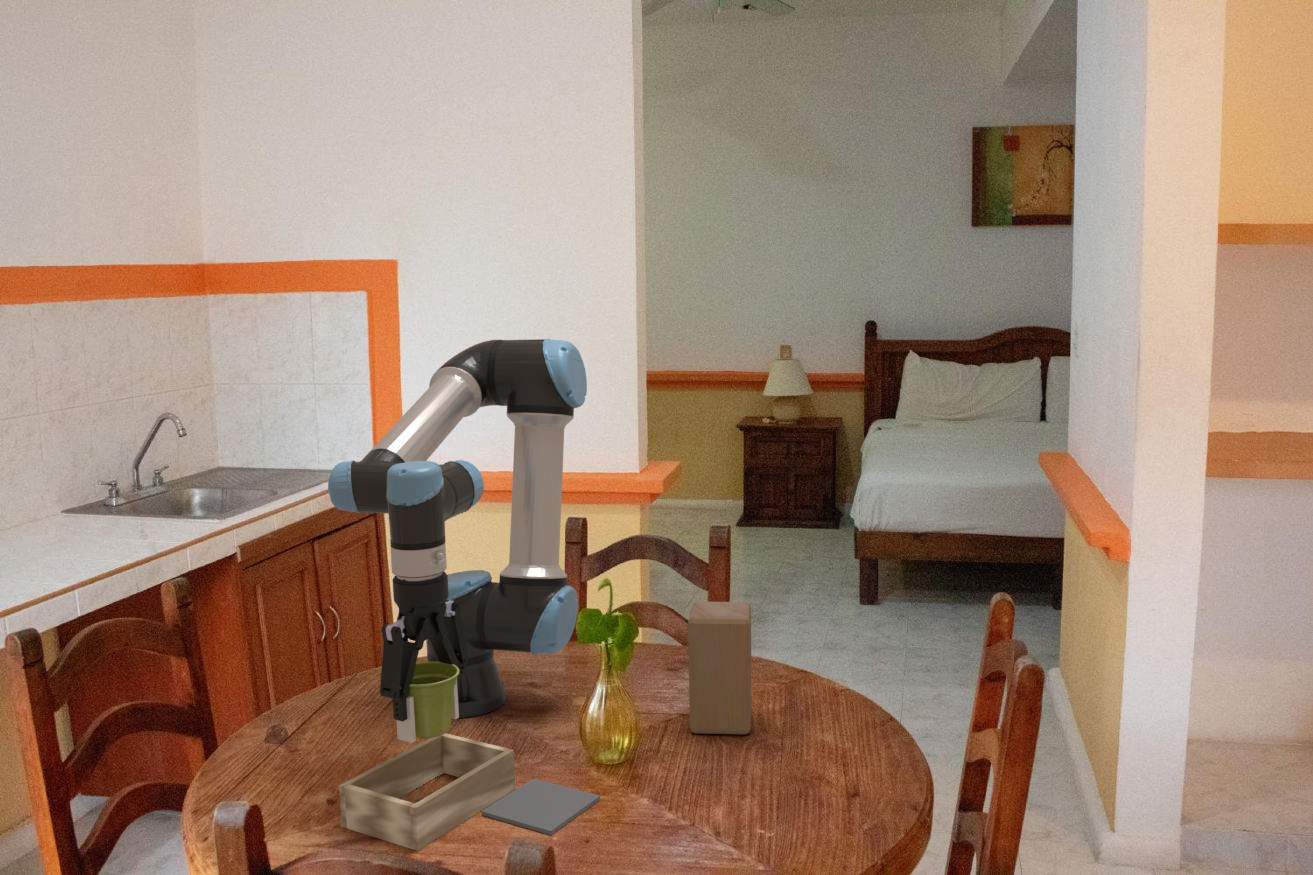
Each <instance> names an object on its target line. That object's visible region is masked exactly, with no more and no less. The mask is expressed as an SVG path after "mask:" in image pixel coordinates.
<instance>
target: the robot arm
mask: <svg viewBox="0 0 1313 875" xmlns="http://www.w3.org/2000/svg"><path fill="white" fill-rule="evenodd" d="M428 386H429V387H428V389H427V390H426V391H425V392H423V394H422V395H421V396H420V397H419V398H418V399H417V400H416V401H415V402H414V403H413V404H412V406H411V407H410V408H409V409H408V410H407V411H406V412H405V413H404V414H403V415H402V416H401V418H400V419H399V420H397V421H396V423H395V424H394V425H393V426H391V428H390V429H389V431H387V432H386V433H385V435H384V436H382V438H381V439H380V440H379V441H378V442H377V443H376V444H375V446H373V447H372V449H371V450H370V451H368V453H367V454H366V455H365V456H364V457H363V458H362V460H360V461H355V460H350V461H341V462H339V463H337V464H336V465H334V467H333V468H332V470H331V472H330V475H329V477H328V482H327V484H328V485H327V489H328V490H327V491H328V495H329V499H330V502H331V503H332V505H333V506H334V507H335V508H336V509H338V510H339V511H342V512H343V511H344V512H351V513H358V514H363V513H364V514H388V526H389V535H390V560H391V561H390V562H391V565H390V566H391V573H392V574H393V575H394V577H393V578H392V591H393V592H392V593H393V594H392V596H393V601H394V603H395V604H396V606H397V608H398V615H397V618H396V621H395V622H393V623H391V624H386V623H385V624H383V625H382V627H381V633H382V634H381V636H382V639H383V648H382V660H381V672H380V673H381V675H380V687H379V694H380V696H381V697H384V698H388V699H392V710H393V711H392V712H393V718H394V720H396V732H397V733H396V734H397V740H399V741H403V742H407V743H410V744H413V743H415V742H416V741H417V736H416V733H415V716H414V700H413V696H410V695H409V691H410V684H411V682H412V678H413V674H414V670H415V665H416V663H417V661H418V656H419V652H420V650H422V649H423V647H424V644H425V641H426V655H427V659H426V660H427V661H426V662H441V663H445V664H451V665H453V664H454V665H456V666H457V667H458V668H459V675H458V676H457V678H456V684H455V685H454V694H453V705H452V716H451V720H457V719H459V718H471V717H476V716H480V715H484V713H485V714H487V713H490V712H492V711H495V710H497V709H499V708H500V707H502V706H503V705H504V704H505V702H506V686H505V684H504V682H503V681H502V677H501V675H500V672H499V669H498V666H497V661H496V660H495V654H494V653H495V652H494V651H504V652H505V651H507V652H517V653H519V652H520V653H531V654H532V655H537V654H538V655H539V654H547V655H548V654H551V655H553V654H556V653H559V652H561V651H562V650H564V648H565V647H566V646H567V644H568V642H569V641H570V639H571V637H572V635H573V632H574V629H575V626H576V623H577V618H578V611H579V599H578V593H577V591H576V589H575V588H574V587H572V586H571V585H568V574H567V573H566V572H565V571H564V570H563V569H562V568H561V566H560V547H561V546H560V545H561V517H562V492H563V472H564V469H563V467H564V446H565V444H564V443H565V428H566V427H567V425H568V424H570V423H571V421H572V420H574V417H575V416H574V415H575V414H574V413H575V412H574V409H578V408H580V407H582V406H583V405H584V403H585V401H586V396H587V392H588V391H587V389H588V388H587V386H588V382H587V373H586V367H585V363H584V360H583V357H582V354H581V352H580V351H579V349H578V348H577V346H575V345H574V344H573V343H572V342H570V341H568V340H560V339H550V338H545V339H490V340H486V341H485V340H484V341H482V342H479V343H475V344H474V345H472V346H469V347H468V348H466V349H464V350H462V351H460V352H458V353H457V354H455V355H454V356H452V357H451V358H450V359H448V360H446V362H444V363H443V364H442V365H441V366H440V367H439V368H438V369H437V370H436V371H434V373H433V374H432V376H431V378H430V380H429V384H428ZM488 406H500V407H506V417H507V418H508V419H509V420H510V421H511V422H512V423H513V425H514V442H513V443H514V444H513V463H512V464H513V466H512V468H513V469H512V484H511V485H512V487H511V488H512V490H511V507H510V508H511V509H510V510H511V511H510V512H511V513H510V515H511V516H510V534H509V535H510V537H509V558H508V561H509V562H508V564H507V566H506V567H504V568H503V569H502V571H500V572H499V582H494V581H492V580H493V577H492V574H491V573H490V572H489V571H487V570H481V569H478V570H477V569H476V570H475V569H473V570H472V569H471V570H464V571H457V572H453V573H449V574H447V573H446V572H445V571H446V570H447V569H448V567H447V565H448V564H447V551H446V527H445V526H446V523H445V522H447V521H448V520H450V519H451V518H454V517H456V516H458V515H460V514H464V513H466V512H467V511H469V510H470V509H471V508H472V507H474V506H475V505H477V504H478V502H479V501H481V499H482V497H483V493H484V490H485V489H484V488H485V483H484V479H483V475H482V473H481V472H480V470H479V469H478V468H477V467H476V466H475V465H474V464H473V463H471V462H469V461H466V460H463V459H462V460H461V459H459V460H450V461H449V460H448V461H447V462H444V463H443V464H439V463H437V462H434V461H430V460H429V458H430V457H431V456H432V455H433V454H434V452H435V451H436V450H437V449H438V448H439V447H440V445H441V444H443V442H444V441H445V440H446V439H447V437H448V436H449V435H450V434H451V433H452V432H453V431H454V429H455V428H456V427H457V425H458V424H459V423H460V422H461V421H462V420H463V418H467V417H470V416H472V415H473V414H475V413H476V412H477V411H478V410H479V409H480V408H485V407H488ZM428 460H429V461H428ZM409 640H410V641H409ZM411 641H413V642H411ZM400 687H401V689H400Z"/></svg>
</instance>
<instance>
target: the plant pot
mask: <svg viewBox="0 0 1313 875" xmlns="http://www.w3.org/2000/svg"><path fill="white" fill-rule="evenodd" d="M458 675H459V668H458V667H457V666H456V665H454V664H453V665H451V664H445V663H441V662H427V661H424V662H423V661H422V662H416V665H415V670H414V674H413V678H412V682H411V684H410V691H409V695H410V696H413V700H414V716H415V733H416V738H419V739H422V740H423V739H424V740H427V739H429V738H434V737H439V736H442V735H443V734H444V733H446V732H450V730H451V728H452V727H451V725H452V719H451V716H452V705H453V694H454V685H455V684H456V678H457V676H458ZM400 689H401V687H400Z"/></svg>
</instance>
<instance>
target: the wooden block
mask: <svg viewBox="0 0 1313 875" xmlns="http://www.w3.org/2000/svg"><path fill="white" fill-rule="evenodd" d="M688 617H689V618H688V621H687V625H688V628H687V630H688V634H687V635H688V636H687V637H688V683H689V684H688V694H689V695H688V696H689V698H688V702H689V729H690V731H691V733H693V734H709V735H710V734H711V735H714V734H716V735H717V734H718V735H748V734H749V733H750V731H751V729H752V712H753V711H752V708H753V707H752V703H753V702H752V608H751V605H750V603H748V602H745V601H695V602H693V603H692V605H691V609H690V613H689V616H688Z"/></svg>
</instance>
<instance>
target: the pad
mask: <svg viewBox="0 0 1313 875" xmlns="http://www.w3.org/2000/svg"><path fill="white" fill-rule="evenodd" d="M599 801H601V796H600V795H598V794H594V793H591V792H588V791H583V790H581V789H580V790H579V789H575V788H571V787H567V786H564V785H560V784H556V783H552V782H547V781H544V780H540V779H538V778H532V779H530V780H528V781H527V782H525V783H524V784H522V785H520V786H519V787H517V788H515V789H514V790H513V791H511V792H510V793H508V794H506V795H505V796H503V797H502V798H500V799H499V800H497V801H495V802H494V803H492V804H491V805H489V806H488V807H486V808H484V809H483V810H481V816H483V817H487V818H489V819H493V820H497V821H501V822H504V823H508V824H509V825H511V824H512V825H515V826H518V827H521V828H525V829H527V830H532V831H536V832H538V833H541V834H545V835H549V836H552V835H554V834H555V833H556V832H558V831H559V830H560V829H561V828H564V827H565V826H566V825H567V824H569V823H570V822H571V821H573V820H574V819H575V818H577V817H578V816H580V815H581V814H583V813H584V812H586V811H587V810H588V809H590V808H592V806H593V805H595V804H596V803H598V802H599Z"/></svg>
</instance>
